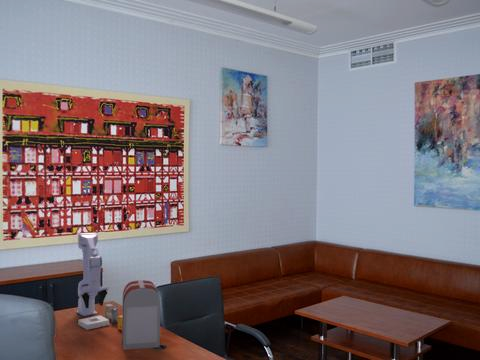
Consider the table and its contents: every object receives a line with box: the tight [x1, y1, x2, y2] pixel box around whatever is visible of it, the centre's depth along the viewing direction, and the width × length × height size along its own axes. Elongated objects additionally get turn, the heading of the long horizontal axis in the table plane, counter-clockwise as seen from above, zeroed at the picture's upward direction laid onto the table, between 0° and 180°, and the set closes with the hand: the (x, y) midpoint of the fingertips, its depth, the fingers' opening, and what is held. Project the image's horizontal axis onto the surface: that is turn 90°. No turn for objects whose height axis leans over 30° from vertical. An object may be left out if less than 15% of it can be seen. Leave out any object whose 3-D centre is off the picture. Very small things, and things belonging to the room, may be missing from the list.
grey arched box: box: [121, 279, 161, 351], centre depth 221 cm, size 17×18×27 cm
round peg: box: [110, 307, 119, 324], centre depth 247 cm, size 3×3×7 cm
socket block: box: [77, 315, 110, 331], centre depth 243 cm, size 10×12×2 cm
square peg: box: [104, 303, 114, 320], centre depth 254 cm, size 3×3×7 cm
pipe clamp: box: [117, 314, 122, 331], centre depth 236 cm, size 12×4×6 cm, turn 63°
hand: (94, 306), depth 242 cm, fingers open, 7 cm apart
